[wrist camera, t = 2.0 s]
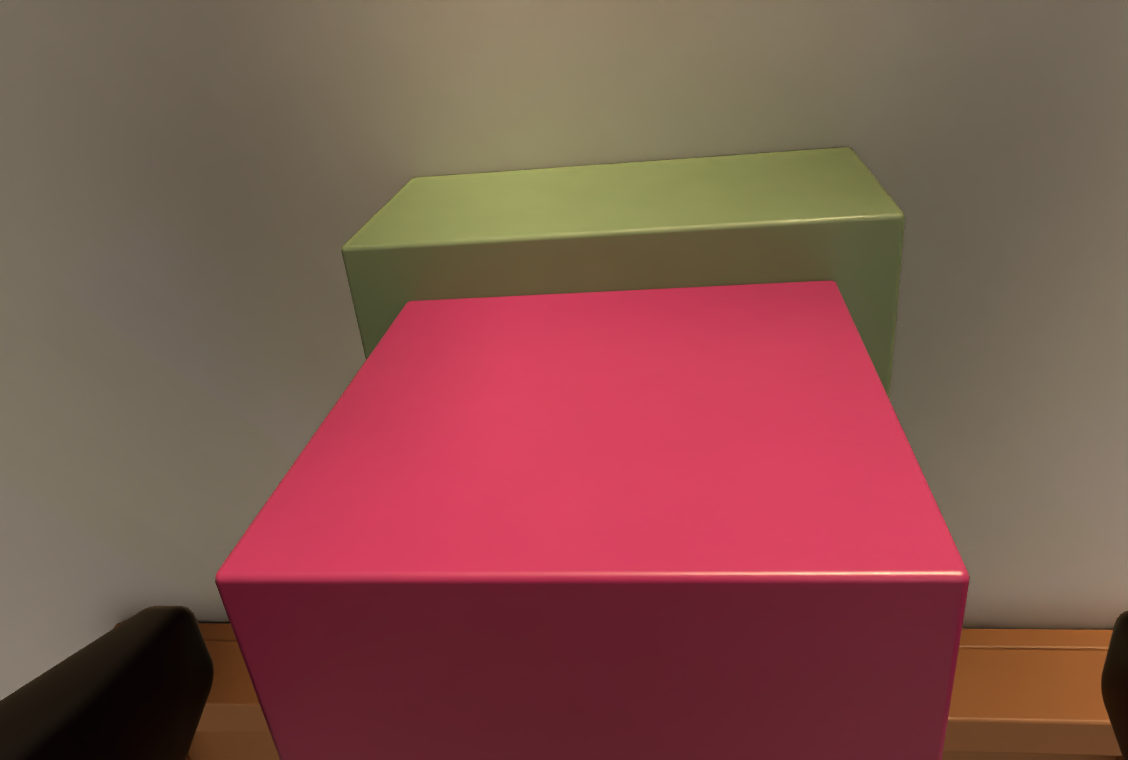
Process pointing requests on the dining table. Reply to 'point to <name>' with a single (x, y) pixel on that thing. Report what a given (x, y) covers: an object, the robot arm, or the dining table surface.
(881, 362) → the green rectangular block
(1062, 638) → the tray
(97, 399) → the dining table surface
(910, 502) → the mulberry block
